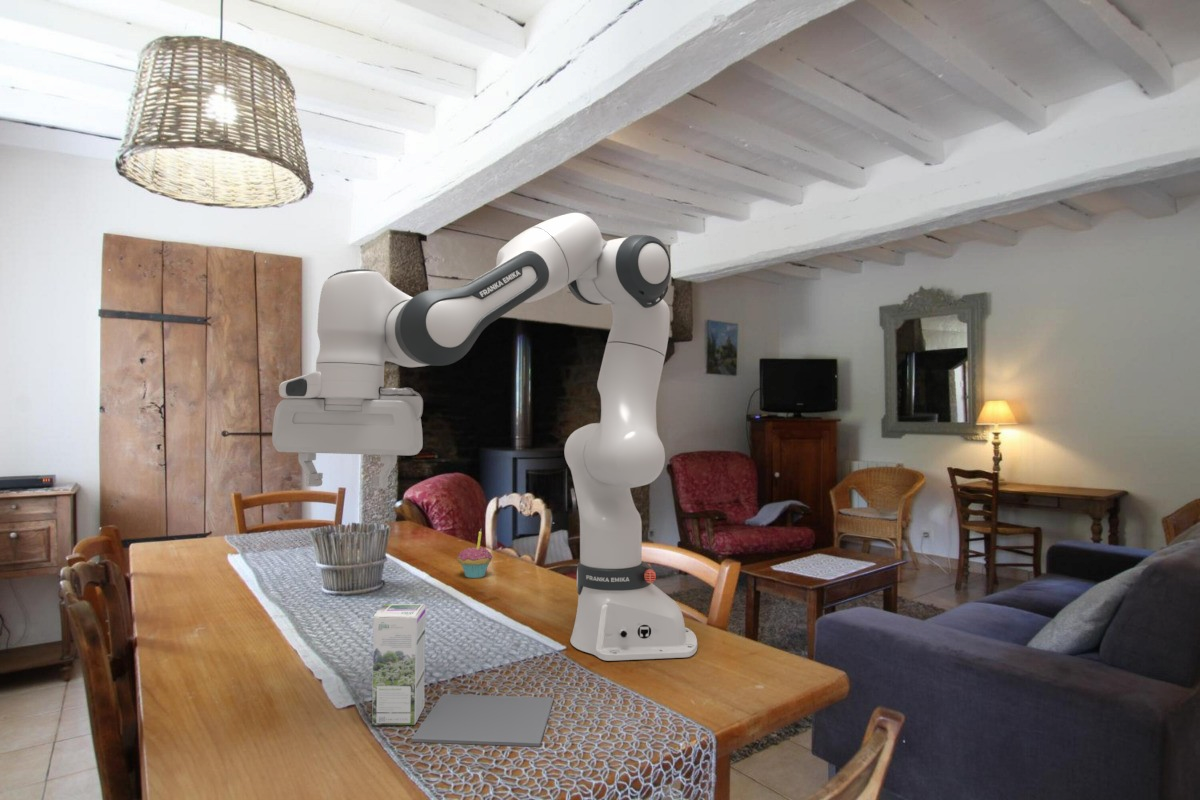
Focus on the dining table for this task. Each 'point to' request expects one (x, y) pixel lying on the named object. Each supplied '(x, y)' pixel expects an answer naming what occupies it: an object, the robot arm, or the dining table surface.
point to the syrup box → (398, 664)
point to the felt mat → (486, 720)
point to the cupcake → (475, 560)
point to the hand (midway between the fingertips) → (346, 487)
